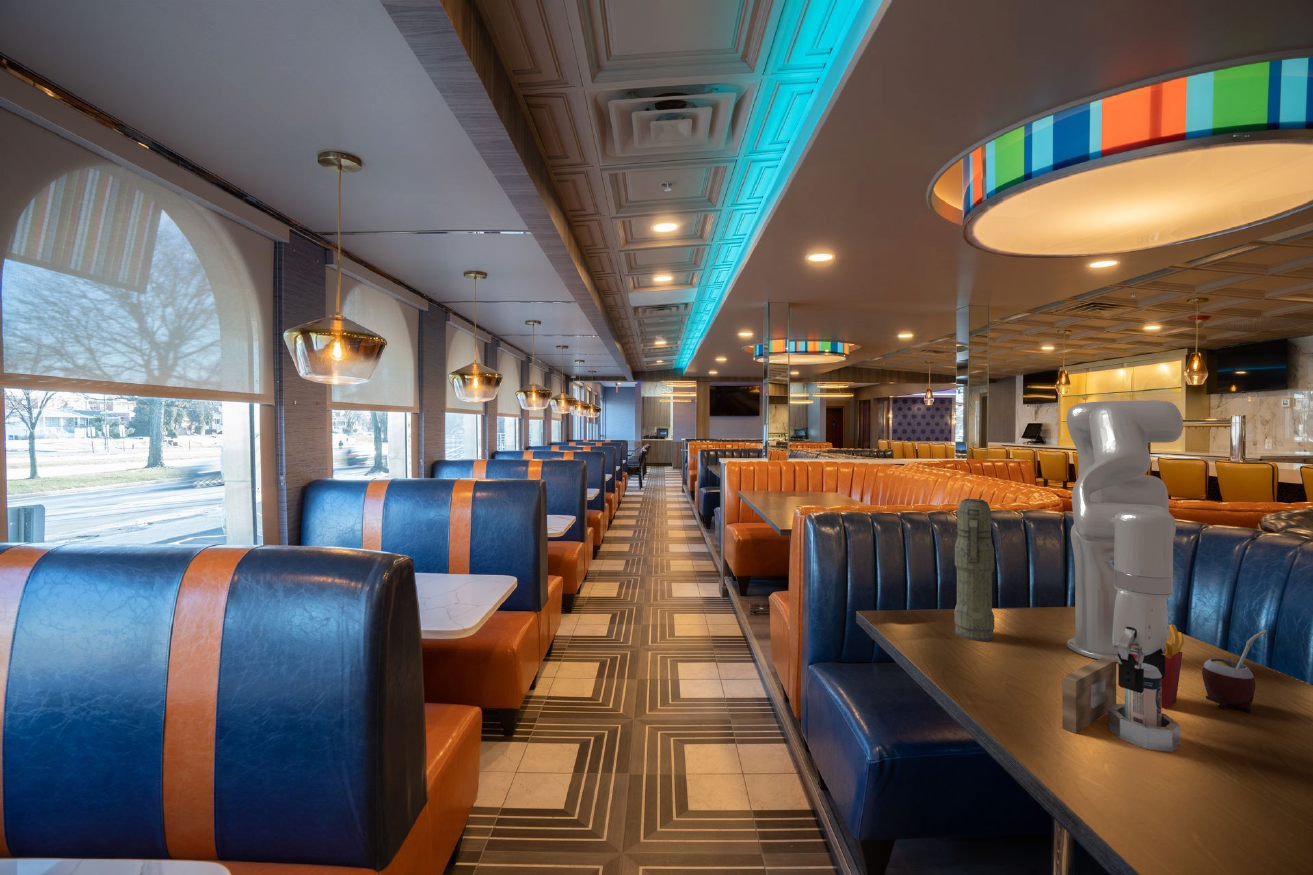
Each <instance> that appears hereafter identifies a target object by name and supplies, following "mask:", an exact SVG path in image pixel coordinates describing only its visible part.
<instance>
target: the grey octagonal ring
mask: <svg viewBox="0 0 1313 875" xmlns="http://www.w3.org/2000/svg"><path fill="white" fill-rule="evenodd" d="M1107 723H1108V724H1107V725H1108V726H1107V729H1108V730H1109V729H1110V730H1111V731H1110V730H1109V731H1110V732H1111V733H1112V732H1113V735H1115V736H1116V737H1117V738H1118V739H1119V738H1120V739H1121V741H1123V740H1125V741H1124V742H1126V743H1128V742H1130V743H1129V744H1131V743H1132V745H1134V746H1136V745H1137V746H1136V747H1139V748H1141V749H1145V750H1147V749H1148V750H1147V751H1158V752H1165V753H1166V752H1167V753H1174V752H1175V750H1177V749H1178V748H1179V747H1181V746H1180V745H1181V724H1179V723H1178V722H1177V721H1176V720H1174V719H1173V718H1171V717H1170V716H1168V715H1167V714H1165V713H1163V712H1161V727H1158V726H1148V725H1144V724H1141V723H1138V722H1135V721H1132V720H1129V719H1126V718H1125V703H1116V704H1115V705H1113V706H1112V707H1110V708H1108V714H1107ZM1120 739H1119V740H1120Z"/></svg>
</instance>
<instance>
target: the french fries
mask: <svg viewBox="0 0 1313 875" xmlns="http://www.w3.org/2000/svg"><path fill="white" fill-rule="evenodd" d="M1168 629H1170V634H1171V640H1170V637H1168V638H1167V643H1166V645H1165V648H1166V652H1165V654H1162V655H1166V666H1165V677H1164V678H1161V709H1165V710H1168V709H1169V708H1171V707H1172V706H1174V705H1175V704H1176V703H1177V699H1178V698H1177V696H1178V687H1179V681H1180V676H1181V675H1180V674H1181V667H1182V666H1181V665H1182V659H1183V652H1182V651H1181V650H1182V649H1183V646H1184V643H1185V642H1184V640H1185V639H1184V635H1183V633H1182V632H1180V631H1179V632H1178V629H1177V626H1176V625H1175V624H1168ZM1131 647H1132V646H1131ZM1132 648H1135V649H1139V648H1136V647H1132ZM1139 650H1140V649H1139ZM1130 654H1132V653H1130ZM1133 656H1134V658H1135V660H1136V658H1137V655H1136V654H1133Z"/></svg>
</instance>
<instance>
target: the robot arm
mask: <svg viewBox="0 0 1313 875" xmlns="http://www.w3.org/2000/svg"><path fill="white" fill-rule="evenodd" d="M1066 424H1067V430H1068V432H1069V433H1068V434H1069V435H1070V438H1071V440H1072V442H1073V445H1074V447H1075V449H1076V452H1077V457H1078V472H1077V473H1078V478H1077V479H1076V481H1075V483H1074V485H1073V488H1072V491H1071V506H1072V518H1073V525H1072V526H1071V529H1070V541H1071V546H1072V551H1073V560H1074V575H1075V576H1074V578H1075V579H1074V580H1075V582H1074V583H1075V585H1074V586H1075V588H1074V592H1075V594H1074V595H1075V596H1074V597H1075V601H1074V602H1075V606H1074V607H1075V608H1074V609H1075V610H1074V611H1075V617H1074V619H1075V623H1074V624H1075V626H1074V627H1075V630H1074V631H1075V632H1074V633H1075V637H1072V638H1069V639H1068V640H1067V647H1068V648H1069V650H1071V651H1073V652H1075V653H1077V654H1079V655H1081V656H1085V657H1088V658H1092V659H1094V660H1095V659H1096V660H1098V659H1100V658H1102V657H1106V658H1109V659H1113V660H1116V663H1117V664H1118V666H1117V667H1118V672H1117V674H1118V678H1117V680H1118V686H1119V687H1120V688H1123V689H1124V690H1125V689H1129V690H1132V691H1135V692H1138V693H1142V692H1144V669H1142V668H1141V666H1142V663H1146V664H1149V665H1153V666H1155V667H1156V668H1158V670H1159V672H1160V673H1161V675H1162V677H1161V678H1164V677H1165V666H1166V655H1162V654H1165V652H1166V648H1165V645H1166V643H1167V638H1169V637H1168V635H1169V626H1168V625H1169V617H1168V616H1169V614H1168V613H1169V612H1168V611H1169V610H1168V599H1169V598H1173V596H1174V538H1175V536H1176V531H1177V526H1176V520H1175V519H1176V518H1175V517H1174V516H1173V515H1172V514H1171V513H1170V511H1169V510H1170V506H1169V504H1170V502H1169V501H1170V500H1169V492H1168V488H1167V487H1166V484H1165V482H1164V481H1163V480H1162V479H1160V478H1159V477H1157V476H1155V475H1149V474H1146V473H1147V472H1148V471H1149V470H1150V467H1151V465H1152V460H1151V456H1150V451H1149V447H1148V443H1150V444H1151V443H1157V444H1158V443H1165V444H1166V443H1168V444H1169V443H1175V442H1176V441H1178V440H1179V439H1180V438H1181V436H1182V434H1183V429H1184V420H1183V416H1182V413H1181V411H1180V409H1179V408H1178V406H1177V405H1175V404H1174V403H1173V402H1171V401H1167V400H1166V401H1165V400H1152V399H1151V400H1122V401H1121V400H1114V401H1113V400H1109V401H1108V400H1107V401H1106V400H1104V401H1088V402H1087V401H1086V402H1081V403H1077V404H1074V405H1072V406H1071V407H1069V409H1068V410H1067V413H1066ZM1113 563H1114V564H1113ZM1132 647H1136V648H1139V649H1140V650H1139V649H1135V648H1132ZM1130 653H1132V654H1130ZM1133 654H1136V655H1137V658H1136V660H1135V658H1134V656H1133Z"/></svg>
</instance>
